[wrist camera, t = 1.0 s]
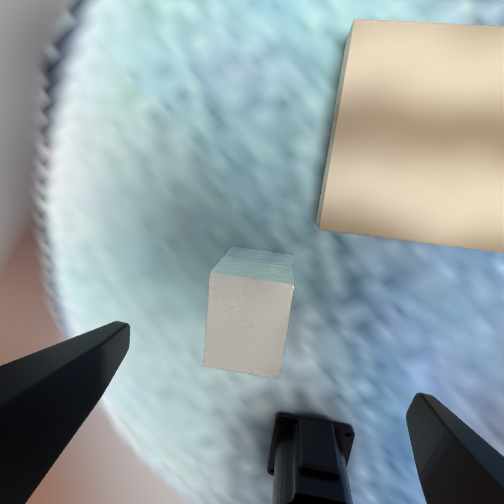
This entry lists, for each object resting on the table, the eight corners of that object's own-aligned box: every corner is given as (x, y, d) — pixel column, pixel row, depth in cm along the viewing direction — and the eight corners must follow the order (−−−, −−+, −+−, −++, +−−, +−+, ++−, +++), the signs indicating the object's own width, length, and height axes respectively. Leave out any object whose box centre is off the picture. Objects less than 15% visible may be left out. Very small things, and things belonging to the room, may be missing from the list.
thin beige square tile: (484, 243, 19) (512, 253, 17) (315, 222, 20) (318, 229, 18) (548, 52, 16) (592, 30, 14) (345, 40, 17) (354, 18, 15)
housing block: (282, 327, 23) (279, 379, 17) (225, 318, 23) (203, 366, 18) (293, 254, 21) (294, 284, 15) (231, 246, 22) (209, 272, 16)
